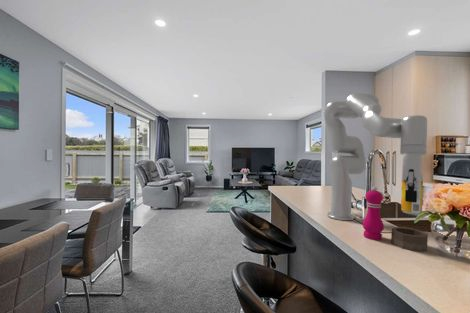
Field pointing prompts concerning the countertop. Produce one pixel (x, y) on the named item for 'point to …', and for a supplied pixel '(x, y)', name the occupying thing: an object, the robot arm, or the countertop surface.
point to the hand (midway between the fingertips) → (411, 200)
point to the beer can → (412, 206)
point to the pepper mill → (373, 215)
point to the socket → (409, 239)
